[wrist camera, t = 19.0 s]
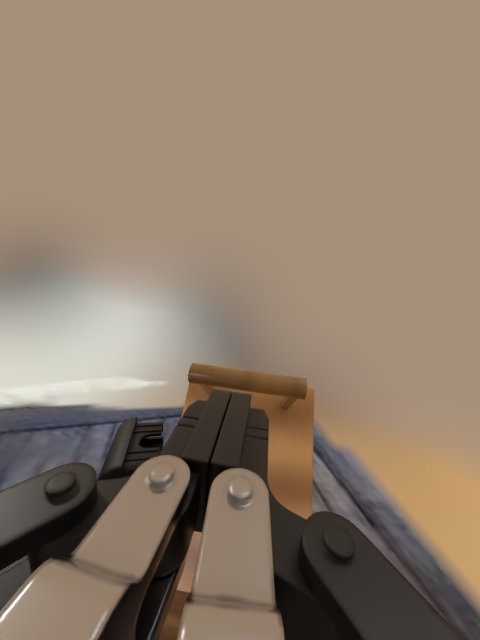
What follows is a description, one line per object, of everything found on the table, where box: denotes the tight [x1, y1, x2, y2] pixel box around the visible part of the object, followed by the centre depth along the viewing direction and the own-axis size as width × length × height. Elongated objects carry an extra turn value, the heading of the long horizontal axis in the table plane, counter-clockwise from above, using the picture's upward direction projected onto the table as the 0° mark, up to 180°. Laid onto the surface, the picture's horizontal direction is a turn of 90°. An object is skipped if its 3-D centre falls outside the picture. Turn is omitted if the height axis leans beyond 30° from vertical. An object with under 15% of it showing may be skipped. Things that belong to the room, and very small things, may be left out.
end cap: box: [97, 417, 163, 481], centre depth 36 cm, size 10×7×7 cm
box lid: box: [176, 363, 314, 593], centre depth 18 cm, size 16×13×10 cm
